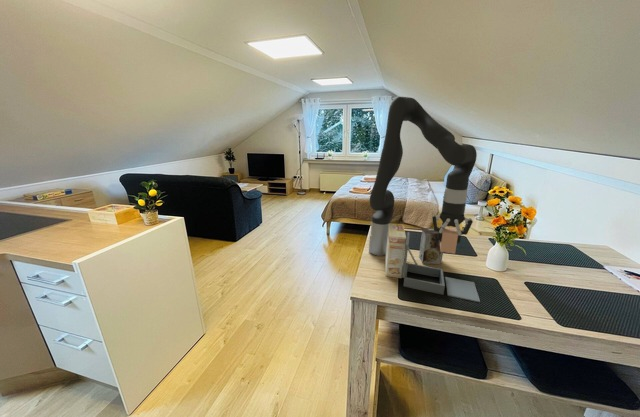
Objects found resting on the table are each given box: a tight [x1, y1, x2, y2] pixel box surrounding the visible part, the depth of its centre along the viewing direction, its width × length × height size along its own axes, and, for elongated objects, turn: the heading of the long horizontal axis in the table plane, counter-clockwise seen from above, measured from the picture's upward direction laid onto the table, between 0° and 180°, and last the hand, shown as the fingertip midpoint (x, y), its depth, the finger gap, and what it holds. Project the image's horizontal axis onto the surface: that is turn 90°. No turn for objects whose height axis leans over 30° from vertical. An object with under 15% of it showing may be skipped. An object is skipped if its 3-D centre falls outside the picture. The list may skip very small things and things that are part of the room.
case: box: [401, 231, 446, 296], centre depth 103 cm, size 16×13×19 cm
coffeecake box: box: [384, 223, 407, 279], centre depth 113 cm, size 15×7×20 cm, turn 166°
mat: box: [444, 276, 481, 303], centre depth 101 cm, size 11×13×1 cm
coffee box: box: [418, 227, 444, 265], centre depth 120 cm, size 9×6×16 cm
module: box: [440, 226, 458, 255], centre depth 96 cm, size 5×7×8 cm
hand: (448, 242), depth 97 cm, fingers closed on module, 5 cm apart
